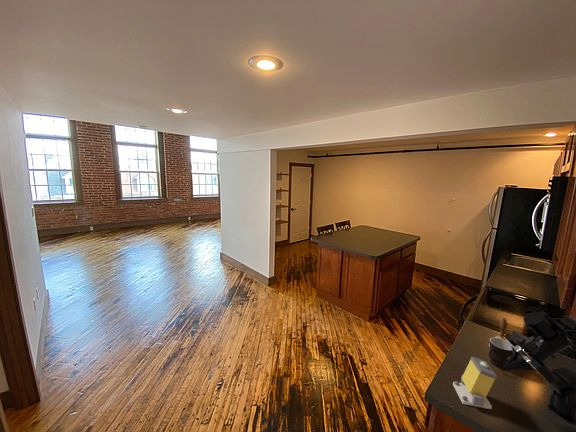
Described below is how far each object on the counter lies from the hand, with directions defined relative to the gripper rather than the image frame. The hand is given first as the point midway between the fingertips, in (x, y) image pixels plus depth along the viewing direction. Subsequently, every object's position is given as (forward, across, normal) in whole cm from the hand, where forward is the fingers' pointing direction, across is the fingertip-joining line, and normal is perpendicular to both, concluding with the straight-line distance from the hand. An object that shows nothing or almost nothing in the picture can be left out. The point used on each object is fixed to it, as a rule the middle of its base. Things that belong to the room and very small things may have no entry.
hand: (505, 368), depth 90 cm
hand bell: (-2, -34, +21) cm, 40 cm away
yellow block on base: (+15, 0, +1) cm, 15 cm away
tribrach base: (+16, 0, +3) cm, 17 cm away
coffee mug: (+4, -22, +16) cm, 27 cm away
